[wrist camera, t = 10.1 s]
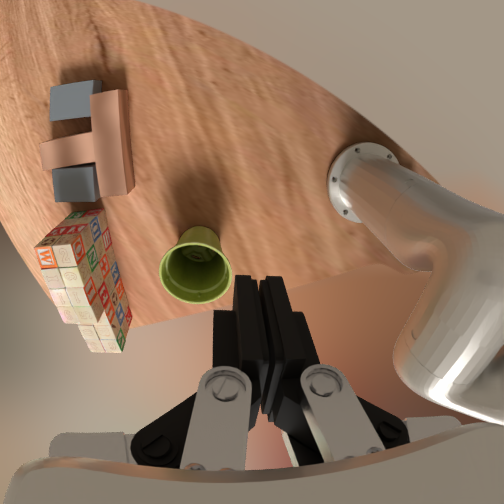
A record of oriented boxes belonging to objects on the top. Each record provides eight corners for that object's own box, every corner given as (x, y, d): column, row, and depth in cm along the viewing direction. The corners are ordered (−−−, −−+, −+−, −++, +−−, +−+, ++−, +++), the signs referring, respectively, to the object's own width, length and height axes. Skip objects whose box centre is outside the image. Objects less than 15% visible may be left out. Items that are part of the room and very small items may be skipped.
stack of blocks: (133, 317, 51) (118, 367, 41) (104, 317, 51) (84, 365, 40) (104, 206, 41) (70, 244, 30) (71, 211, 41) (32, 247, 30)
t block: (127, 90, 33) (117, 89, 30) (135, 186, 40) (127, 194, 36) (50, 107, 32) (35, 109, 29) (61, 194, 39) (49, 203, 36)
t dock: (102, 80, 32) (93, 79, 29) (102, 195, 40) (95, 201, 37) (60, 86, 31) (50, 87, 29) (64, 195, 39) (55, 202, 36)
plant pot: (222, 275, 48) (222, 310, 41) (164, 263, 46) (154, 296, 39) (237, 223, 44) (240, 252, 37) (175, 209, 42) (164, 234, 35)
